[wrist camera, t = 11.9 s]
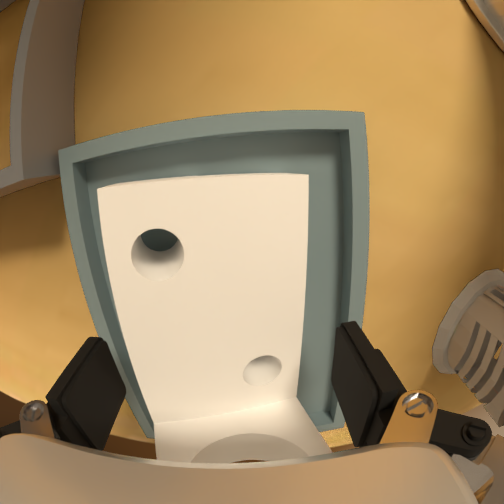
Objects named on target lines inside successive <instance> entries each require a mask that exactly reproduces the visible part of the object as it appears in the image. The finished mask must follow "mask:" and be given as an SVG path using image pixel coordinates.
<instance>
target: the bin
mask: <svg viewBox="0 0 504 504" xmlns="http://www.w3.org/2000/svg"><path fill="white" fill-rule="evenodd" d="M14 1H16V0H0V12H1V11H2V10H3V9H5V8H6V7H7V6H9V5H10V4H11V3H13V2H14ZM84 1H85V0H30V2H29V5H28V8H27V12H26V15H25V19H24V23H23V27H22V31H21V35H20V39H19V44H18V49H17V55H16V61H15V67H14V74H13V83H12V93H11V107H10V159H11V166H8V167H6V168H4V169H2V170H0V197H2V196H5V195H7V194H10V193H13V192H16V191H18V190H21V189H24V188H27V187H30V186H33V185H36V184H39V183H42V182H46V181H49V180H52V179H56V178H59V177H61V176H60V166H59V153H58V150H61V149H64V148H67V147H70V146H73V145H75V131H74V85H75V66H76V54H77V45H78V37H79V29H80V23H81V17H82V11H83V6H84Z"/></svg>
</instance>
